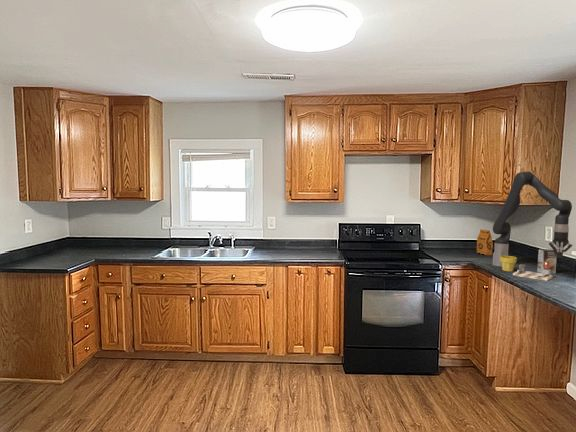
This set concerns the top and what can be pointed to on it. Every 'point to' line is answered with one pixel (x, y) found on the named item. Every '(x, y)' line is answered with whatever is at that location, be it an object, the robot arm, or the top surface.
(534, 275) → the beige wooden board
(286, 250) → the top surface
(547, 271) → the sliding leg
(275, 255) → the top surface
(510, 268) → the plant pot
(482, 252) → the coffee package
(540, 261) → the coffee box
